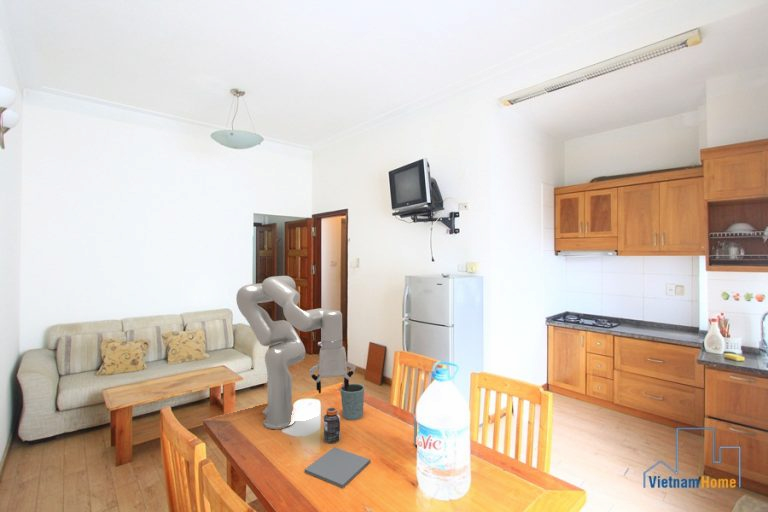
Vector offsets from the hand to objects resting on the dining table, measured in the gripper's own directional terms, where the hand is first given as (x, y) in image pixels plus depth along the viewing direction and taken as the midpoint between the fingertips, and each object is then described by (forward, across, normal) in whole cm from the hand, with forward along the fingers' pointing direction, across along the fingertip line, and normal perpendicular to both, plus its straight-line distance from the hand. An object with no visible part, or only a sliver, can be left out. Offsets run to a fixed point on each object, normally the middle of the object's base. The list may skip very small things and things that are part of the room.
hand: (332, 390), depth 131 cm
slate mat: (+18, 0, -17) cm, 25 cm away
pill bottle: (+18, 0, 0) cm, 19 cm away
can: (+19, +31, -12) cm, 38 cm away
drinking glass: (+18, +10, +18) cm, 28 cm away
